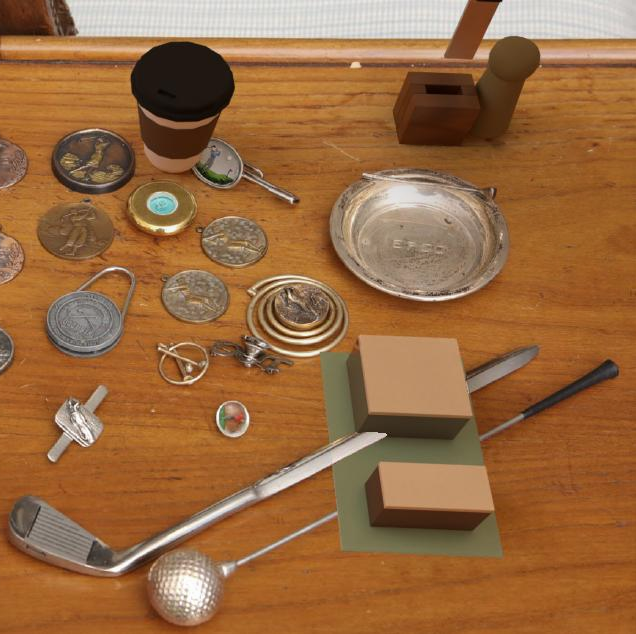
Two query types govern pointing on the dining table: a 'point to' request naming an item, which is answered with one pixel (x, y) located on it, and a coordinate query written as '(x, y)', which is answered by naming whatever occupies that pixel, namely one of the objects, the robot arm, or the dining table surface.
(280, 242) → the dining table surface
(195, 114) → the coffee cup
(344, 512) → the green board with blocks
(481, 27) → the knife
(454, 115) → the knife block
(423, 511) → the tan rectangular block
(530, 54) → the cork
